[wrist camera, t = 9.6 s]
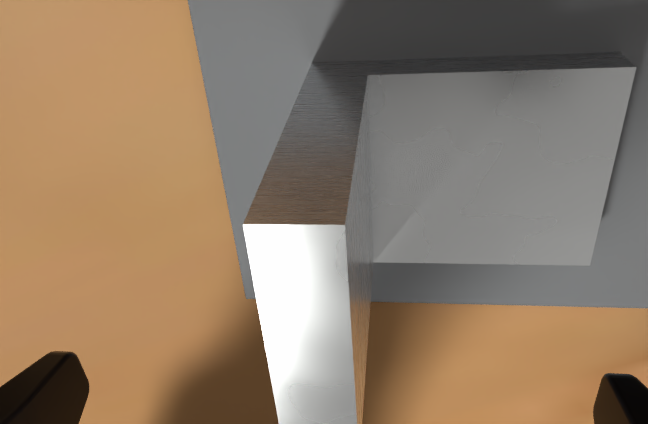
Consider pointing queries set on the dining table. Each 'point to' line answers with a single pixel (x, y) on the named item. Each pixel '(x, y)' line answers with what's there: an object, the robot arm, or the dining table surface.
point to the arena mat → (420, 43)
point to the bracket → (419, 195)
